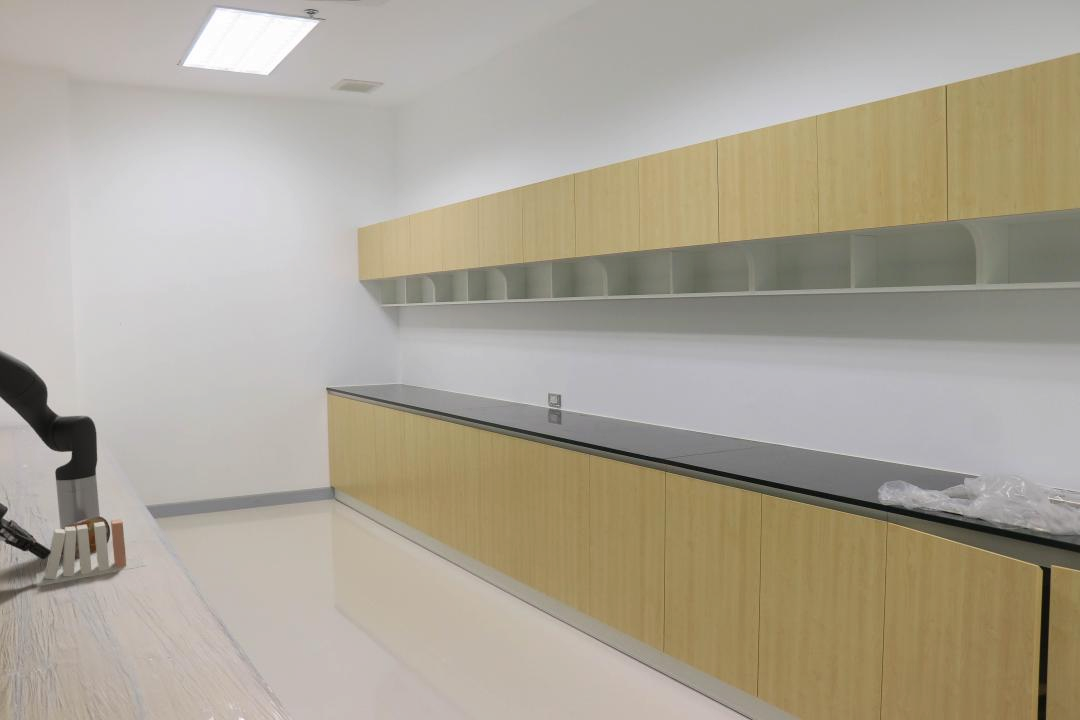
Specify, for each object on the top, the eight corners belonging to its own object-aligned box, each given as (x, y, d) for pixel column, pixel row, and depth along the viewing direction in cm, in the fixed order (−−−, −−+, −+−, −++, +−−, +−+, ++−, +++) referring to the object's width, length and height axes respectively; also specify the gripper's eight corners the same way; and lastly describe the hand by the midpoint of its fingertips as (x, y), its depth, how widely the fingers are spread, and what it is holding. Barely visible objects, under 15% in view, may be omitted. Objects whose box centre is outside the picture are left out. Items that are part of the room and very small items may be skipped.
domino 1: (44, 573, 185) (54, 528, 186) (55, 573, 186) (64, 529, 187) (45, 578, 180) (55, 532, 181) (55, 578, 181) (65, 533, 182)
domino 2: (62, 571, 186) (64, 527, 187) (72, 570, 187) (75, 526, 188) (63, 576, 182) (65, 531, 182) (73, 575, 183) (76, 530, 183)
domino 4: (97, 566, 190) (93, 523, 190) (107, 564, 191) (103, 521, 191) (99, 570, 186) (95, 526, 185) (109, 568, 187) (105, 525, 186)
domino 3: (80, 569, 188) (76, 525, 188) (90, 567, 189) (86, 524, 189) (81, 574, 184) (77, 529, 184) (91, 572, 185) (87, 528, 185)
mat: (36, 575, 187) (36, 573, 187) (139, 556, 198) (138, 555, 198) (37, 588, 177) (37, 586, 177) (145, 567, 188) (145, 565, 188)
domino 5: (114, 562, 192) (110, 520, 191) (124, 561, 193) (120, 518, 193) (116, 567, 188) (112, 524, 187) (126, 565, 189) (122, 522, 188)
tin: (67, 563, 196) (64, 528, 196) (56, 563, 197) (53, 528, 197) (112, 545, 211) (109, 513, 211) (101, 545, 212) (99, 513, 211)
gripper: (-12, 500, 171) (61, 547, 178) (-10, 491, 183) (59, 535, 190) (-41, 530, 169) (35, 576, 176) (-37, 519, 180) (34, 563, 187)
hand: (47, 555), depth 183 cm, fingers closed
